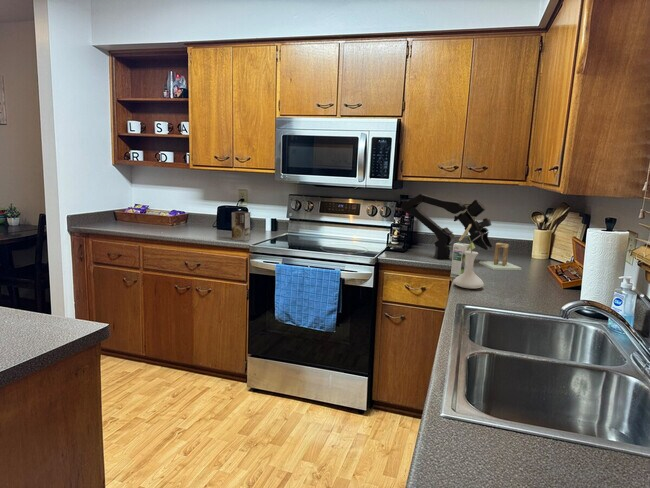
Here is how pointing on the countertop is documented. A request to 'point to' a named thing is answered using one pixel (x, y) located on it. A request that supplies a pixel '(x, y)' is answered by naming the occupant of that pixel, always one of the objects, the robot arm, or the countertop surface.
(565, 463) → the countertop surface
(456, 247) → the syrup box
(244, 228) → the coffee box
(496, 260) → the wooden footstool
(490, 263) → the board
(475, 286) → the flower in vase
